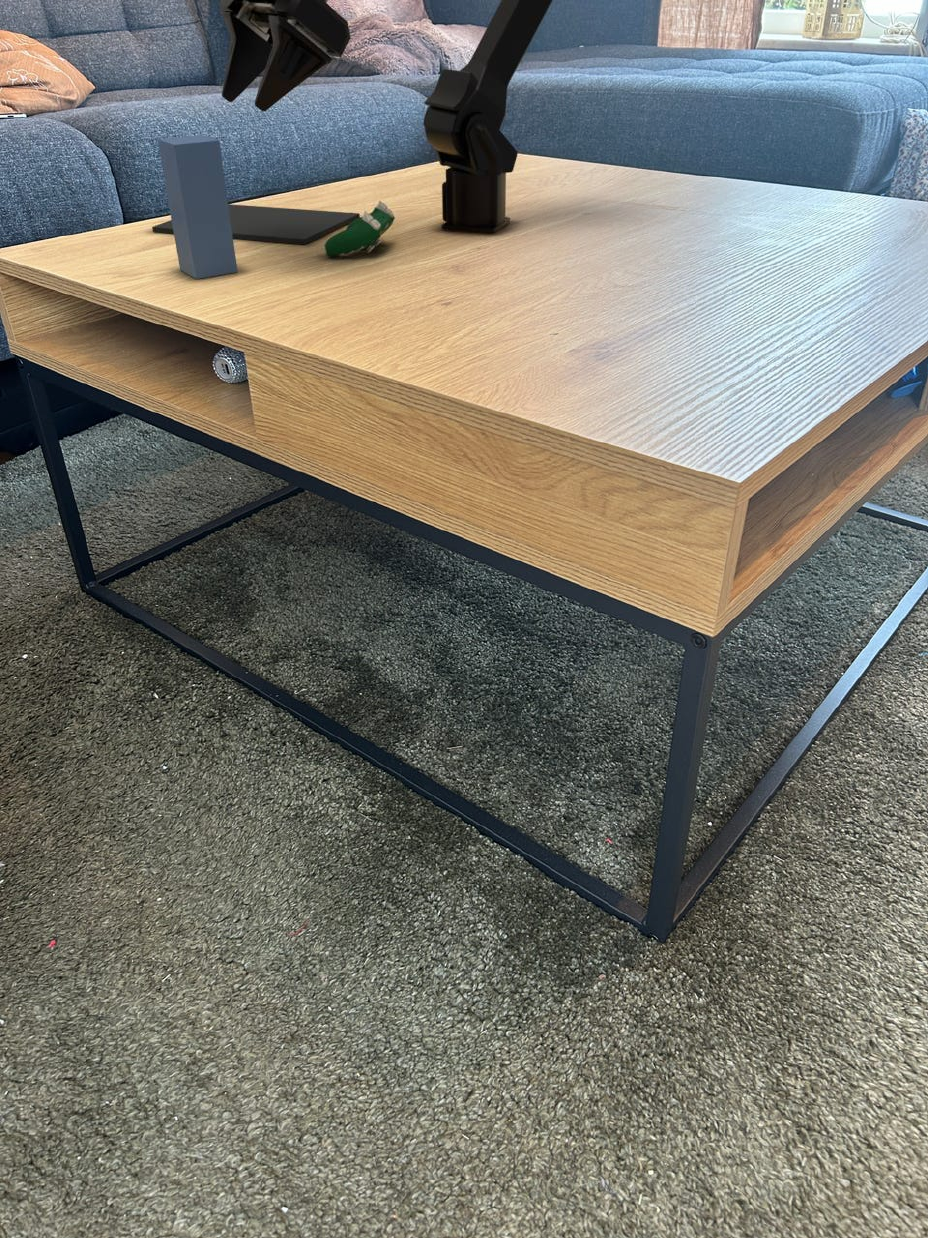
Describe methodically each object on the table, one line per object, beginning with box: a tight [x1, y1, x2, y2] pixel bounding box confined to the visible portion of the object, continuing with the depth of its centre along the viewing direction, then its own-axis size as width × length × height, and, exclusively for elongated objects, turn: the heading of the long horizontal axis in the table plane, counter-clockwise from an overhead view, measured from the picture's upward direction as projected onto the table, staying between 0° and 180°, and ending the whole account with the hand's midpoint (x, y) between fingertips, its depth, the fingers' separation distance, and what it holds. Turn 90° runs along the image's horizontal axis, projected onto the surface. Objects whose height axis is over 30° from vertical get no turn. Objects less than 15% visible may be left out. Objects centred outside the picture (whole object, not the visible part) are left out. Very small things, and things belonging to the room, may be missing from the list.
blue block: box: [157, 134, 239, 280], centre depth 93 cm, size 4×4×12 cm
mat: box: [151, 203, 361, 245], centre depth 114 cm, size 20×14×1 cm
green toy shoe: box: [324, 200, 396, 258], centre depth 103 cm, size 9×4×6 cm
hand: (242, 103), depth 93 cm, fingers open, 9 cm apart
